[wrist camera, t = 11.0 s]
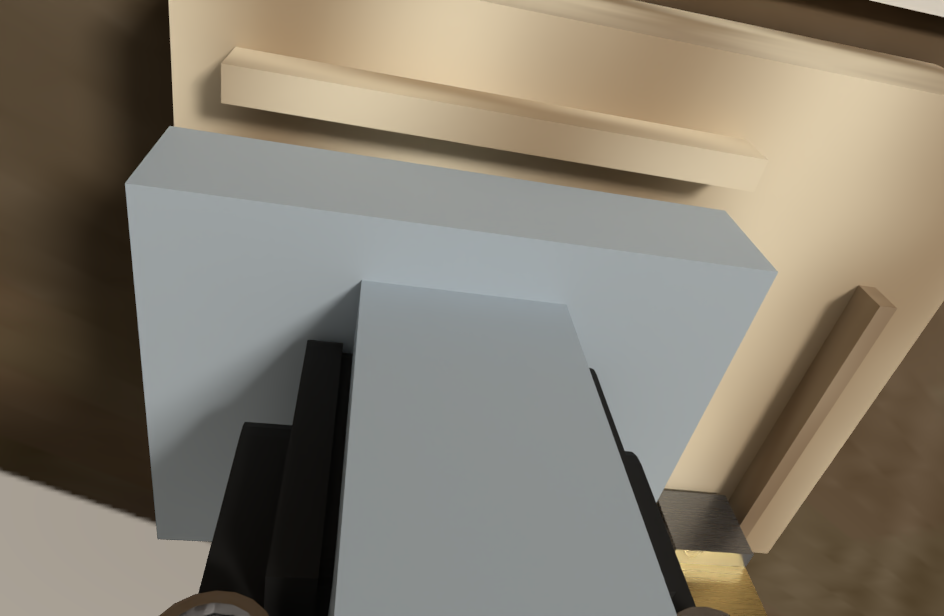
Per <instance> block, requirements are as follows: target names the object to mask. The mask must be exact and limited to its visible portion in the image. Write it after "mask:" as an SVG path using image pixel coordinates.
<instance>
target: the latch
mask: <svg viewBox="0 0 944 616" xmlns="http://www.w3.org/2000/svg"><path fill="white" fill-rule="evenodd" d="M656 504H657V506H658V509H659V511H660V514H661V517H662V519H663V522H664V524H665V527H666V530H667V532H668V535H669V537H670V540H671V543H672V545H673V548H674V550H675V553H676V556H677V558H678V561H679V563H680V566H681V569H682V571H683V574H684V576H685V579H686V582H687V584H688V587H689V589H690V592H691V595H692V597H693V600H694V602H695V605H696V607H709V608H713V609H716V610H720V611H723V612H725V613H727V614H729V615H730V616H767V614H766V612H765V610H764V608H763V605H762V603H761V601H760V599H759V597H758V595H757V592H756V590H755V588H754V586H753V584H752V581H751V579H750V577H749V575H748V573H747V571H746V568H745V567H746V565H747V564H748V562H749V561H750V559H751V558H752V556H753V555H754V554H753V552H752V550H751V548H750V546H749V544H748V542H747V540H746V538H745V535H744V533H743V531H742V529H741V527H740V525H739V523H738V521H737V519H736V517H735V515H734V512H733V510H732V508H731V506H730V504H729V502H728V500H727V498H726V496H725V495H714V494H702V493H690V492H678V491H667V490H663V491H662V493H661V495H660V497H659V499H658V501H657V503H656Z"/></svg>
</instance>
